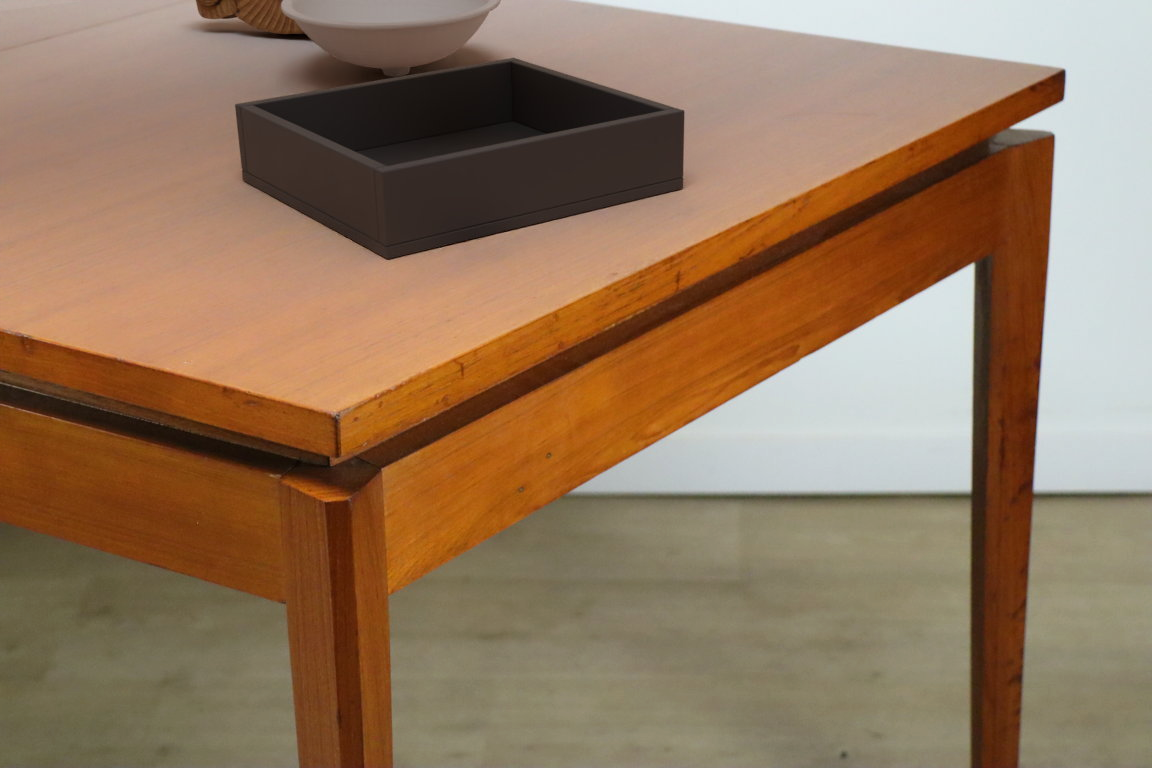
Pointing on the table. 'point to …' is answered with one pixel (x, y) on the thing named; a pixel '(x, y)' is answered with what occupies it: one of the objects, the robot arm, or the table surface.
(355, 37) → the dish
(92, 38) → the table surface
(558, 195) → the tray
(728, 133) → the table surface
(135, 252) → the table surface
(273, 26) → the wooden carving
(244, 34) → the table surface
